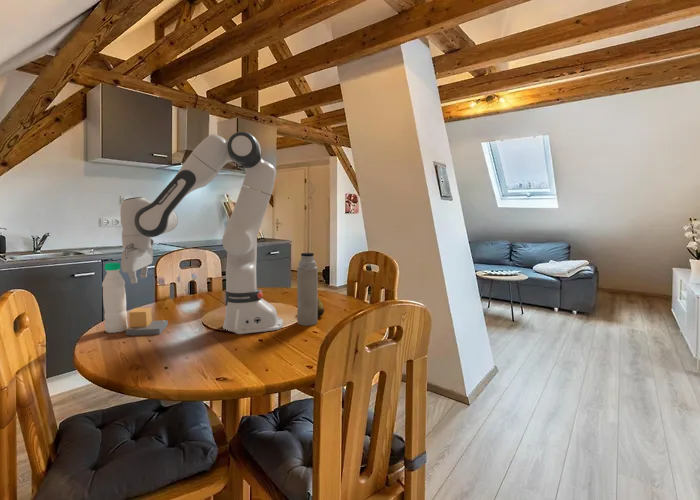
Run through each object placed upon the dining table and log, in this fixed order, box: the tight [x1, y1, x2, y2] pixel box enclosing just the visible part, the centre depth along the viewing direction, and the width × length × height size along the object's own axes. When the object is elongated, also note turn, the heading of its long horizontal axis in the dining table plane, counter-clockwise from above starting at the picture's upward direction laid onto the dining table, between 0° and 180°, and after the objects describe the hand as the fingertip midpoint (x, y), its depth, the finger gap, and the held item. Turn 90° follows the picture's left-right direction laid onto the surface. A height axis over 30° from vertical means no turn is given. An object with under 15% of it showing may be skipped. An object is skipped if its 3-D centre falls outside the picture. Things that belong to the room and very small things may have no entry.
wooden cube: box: [128, 307, 153, 327], centre depth 138 cm, size 6×6×6 cm
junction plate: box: [125, 319, 169, 336], centre depth 137 cm, size 11×10×6 cm
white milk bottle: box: [101, 262, 129, 334], centre depth 136 cm, size 7×7×25 cm
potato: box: [317, 298, 325, 318], centre depth 160 cm, size 8×13×8 cm, turn 13°
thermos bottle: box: [296, 252, 319, 326], centre depth 148 cm, size 8×8×28 cm
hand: (139, 280), depth 136 cm, fingers open, 8 cm apart
